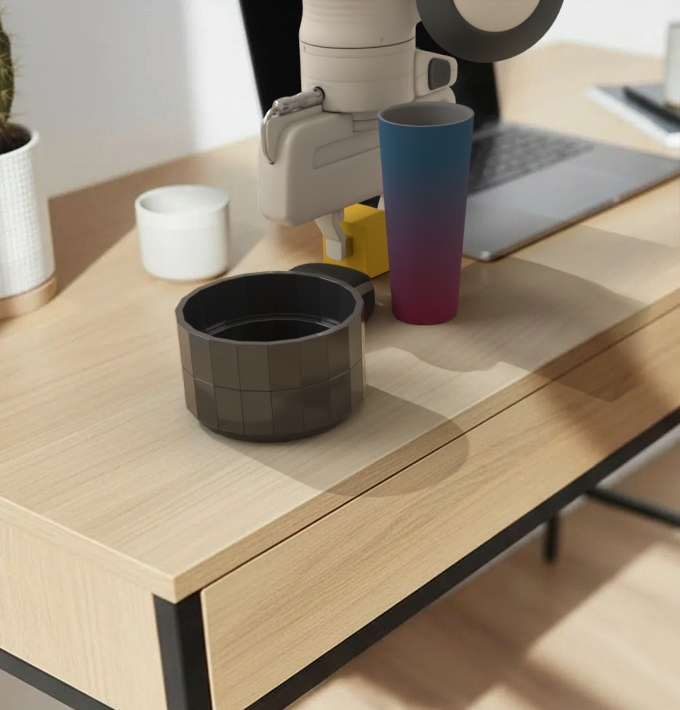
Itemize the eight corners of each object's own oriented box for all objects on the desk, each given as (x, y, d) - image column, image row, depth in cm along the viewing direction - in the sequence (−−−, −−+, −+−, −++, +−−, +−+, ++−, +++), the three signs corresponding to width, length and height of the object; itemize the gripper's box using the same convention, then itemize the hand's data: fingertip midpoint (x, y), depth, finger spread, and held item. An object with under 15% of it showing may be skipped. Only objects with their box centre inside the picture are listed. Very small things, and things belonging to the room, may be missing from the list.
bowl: (402, 396, 81) (401, 299, 77) (274, 466, 73) (266, 362, 70) (277, 349, 88) (271, 257, 84) (149, 408, 81) (136, 311, 77)
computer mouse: (231, 345, 89) (226, 294, 86) (318, 288, 97) (315, 241, 95) (311, 364, 85) (309, 311, 83) (394, 303, 94) (393, 254, 92)
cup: (484, 319, 91) (491, 118, 83) (402, 336, 89) (401, 131, 81) (445, 288, 96) (448, 96, 88) (367, 303, 94) (362, 108, 86)
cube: (399, 266, 101) (398, 213, 98) (367, 280, 98) (365, 227, 96) (355, 253, 104) (354, 202, 101) (323, 266, 101) (321, 214, 99)
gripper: (291, 110, 85) (301, 295, 92) (471, 57, 97) (466, 224, 104) (231, 97, 88) (245, 276, 96) (411, 48, 101) (411, 209, 108)
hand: (362, 248), depth 100 cm, fingers closed on cube, 4 cm apart
